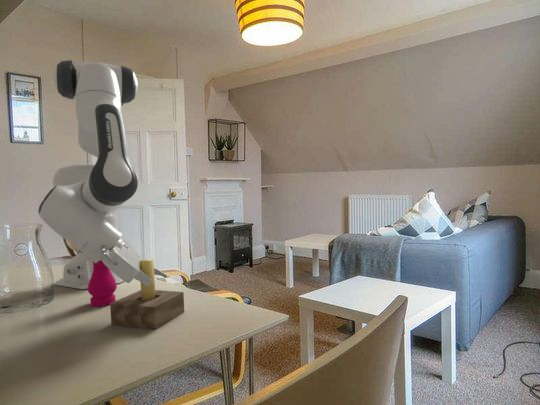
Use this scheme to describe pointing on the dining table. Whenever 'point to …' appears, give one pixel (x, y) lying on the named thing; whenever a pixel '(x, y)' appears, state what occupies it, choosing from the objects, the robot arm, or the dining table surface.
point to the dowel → (148, 269)
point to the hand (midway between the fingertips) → (150, 281)
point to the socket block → (147, 309)
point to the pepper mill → (101, 285)
